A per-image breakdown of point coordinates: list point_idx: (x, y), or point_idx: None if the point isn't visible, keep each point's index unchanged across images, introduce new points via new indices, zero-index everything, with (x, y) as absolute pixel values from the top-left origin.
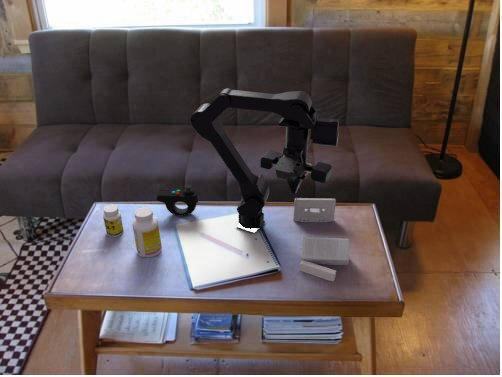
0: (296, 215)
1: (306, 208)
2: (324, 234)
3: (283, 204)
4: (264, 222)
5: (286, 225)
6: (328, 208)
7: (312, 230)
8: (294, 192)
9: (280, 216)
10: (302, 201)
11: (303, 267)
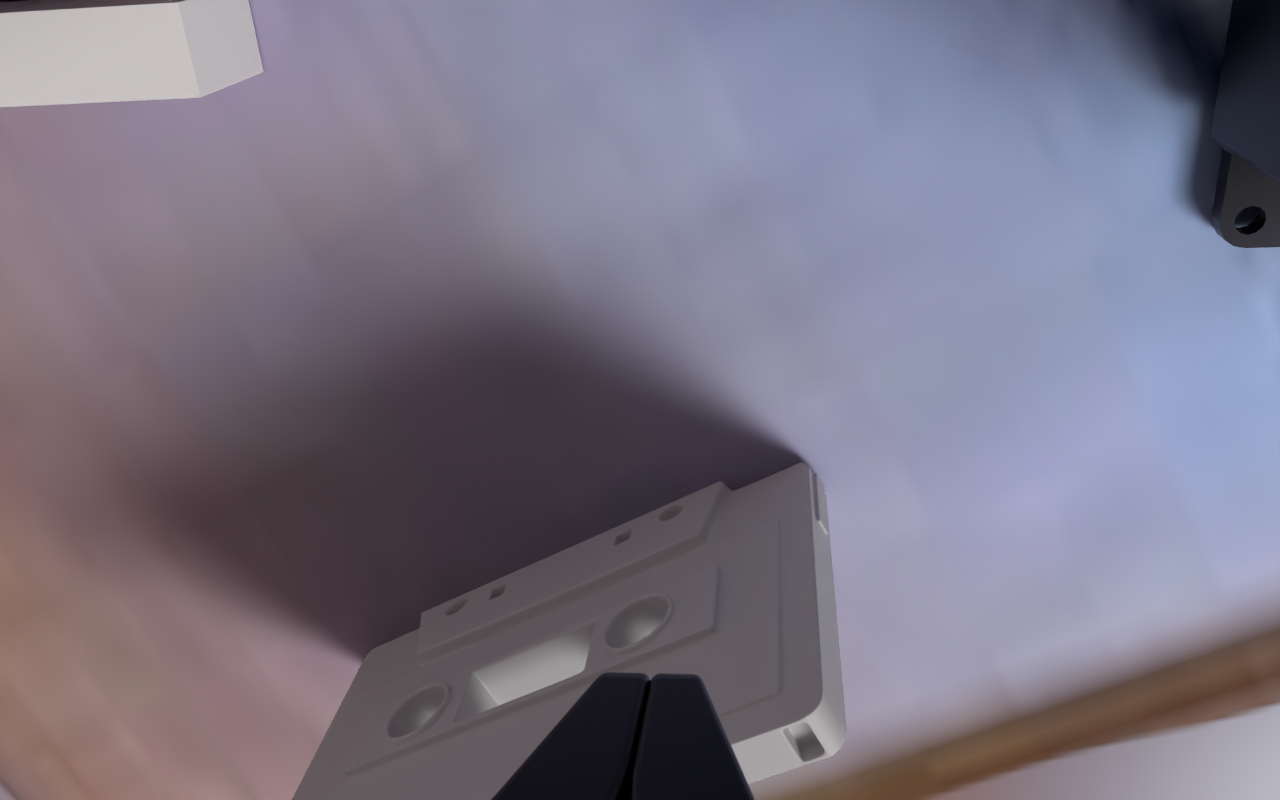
0: (775, 523)
1: (627, 651)
2: (318, 382)
3: (1089, 715)
4: (1217, 213)
5: (860, 327)
6: (351, 764)
7: (489, 388)
8: (603, 709)
9: (1028, 474)
10: None
11: None
